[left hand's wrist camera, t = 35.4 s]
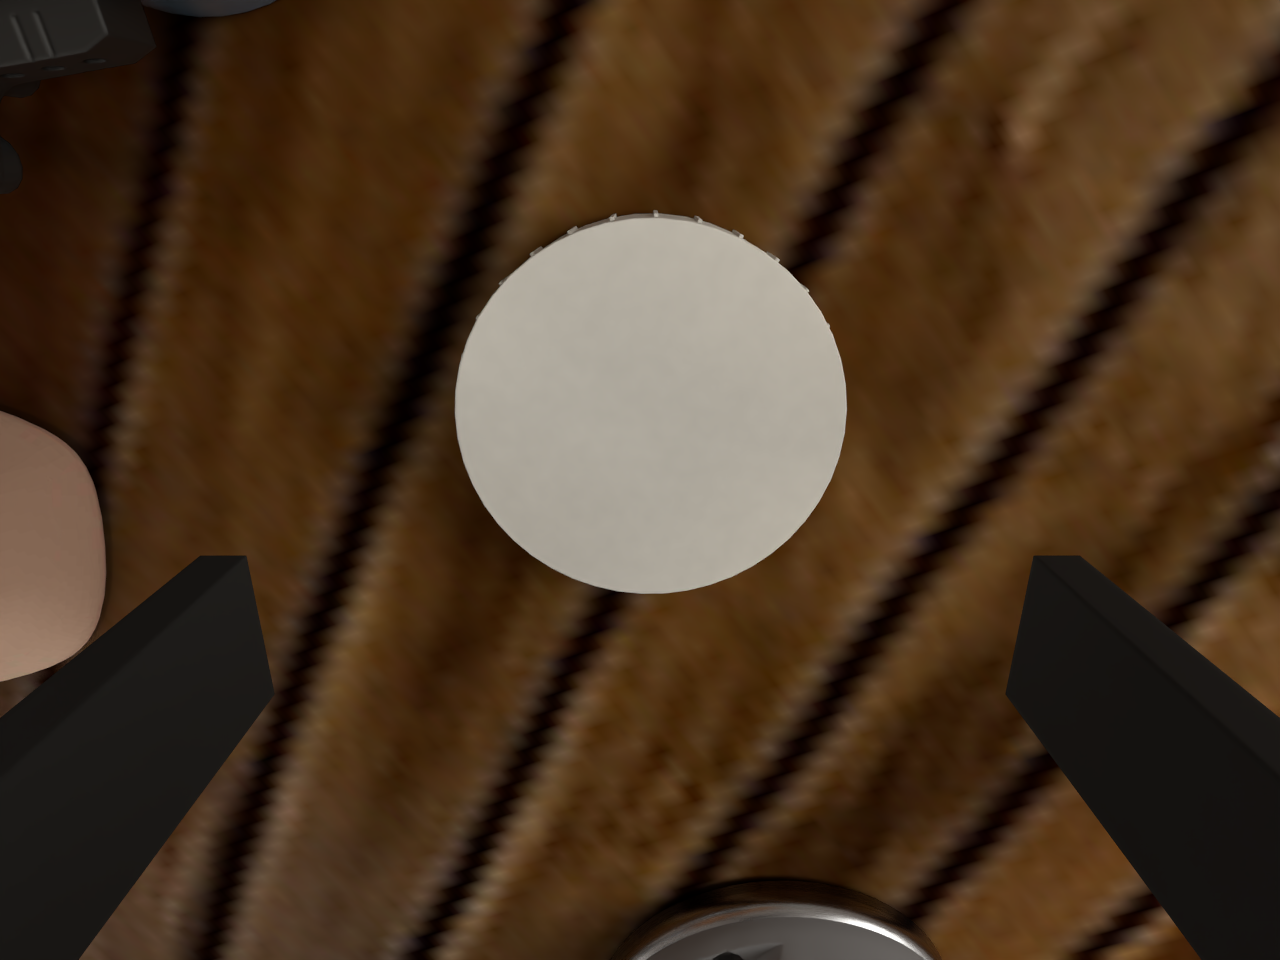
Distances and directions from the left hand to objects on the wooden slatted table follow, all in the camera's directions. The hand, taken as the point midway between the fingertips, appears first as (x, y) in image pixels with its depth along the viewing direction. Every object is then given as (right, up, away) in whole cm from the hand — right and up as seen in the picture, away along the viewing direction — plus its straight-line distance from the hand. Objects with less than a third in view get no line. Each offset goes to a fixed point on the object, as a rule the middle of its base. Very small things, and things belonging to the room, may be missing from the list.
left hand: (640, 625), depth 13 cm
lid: (0, +4, +8) cm, 9 cm away
